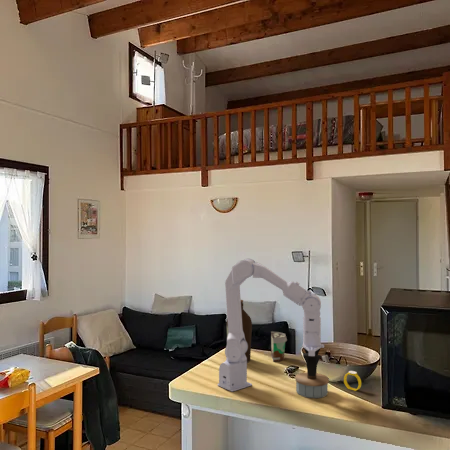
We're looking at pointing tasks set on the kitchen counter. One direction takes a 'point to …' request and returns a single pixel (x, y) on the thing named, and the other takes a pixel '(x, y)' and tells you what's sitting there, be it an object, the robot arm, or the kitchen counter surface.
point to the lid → (312, 379)
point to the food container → (278, 346)
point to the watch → (355, 376)
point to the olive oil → (245, 330)
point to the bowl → (311, 390)
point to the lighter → (325, 358)
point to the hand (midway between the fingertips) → (311, 371)
